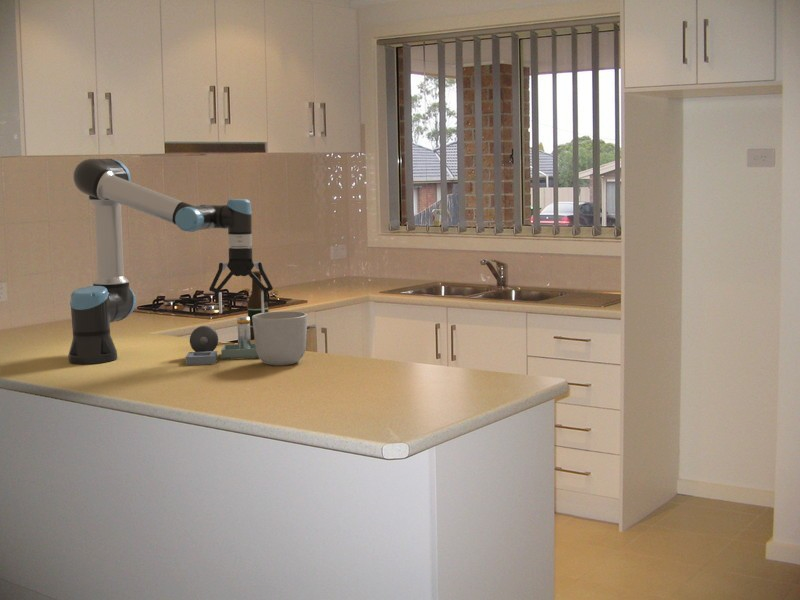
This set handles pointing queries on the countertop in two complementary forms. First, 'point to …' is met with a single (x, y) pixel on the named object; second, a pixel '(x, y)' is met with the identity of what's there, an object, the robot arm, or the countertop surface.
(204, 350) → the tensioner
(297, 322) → the planter
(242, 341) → the pin
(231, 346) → the tray
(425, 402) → the countertop surface
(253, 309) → the beer bottle
